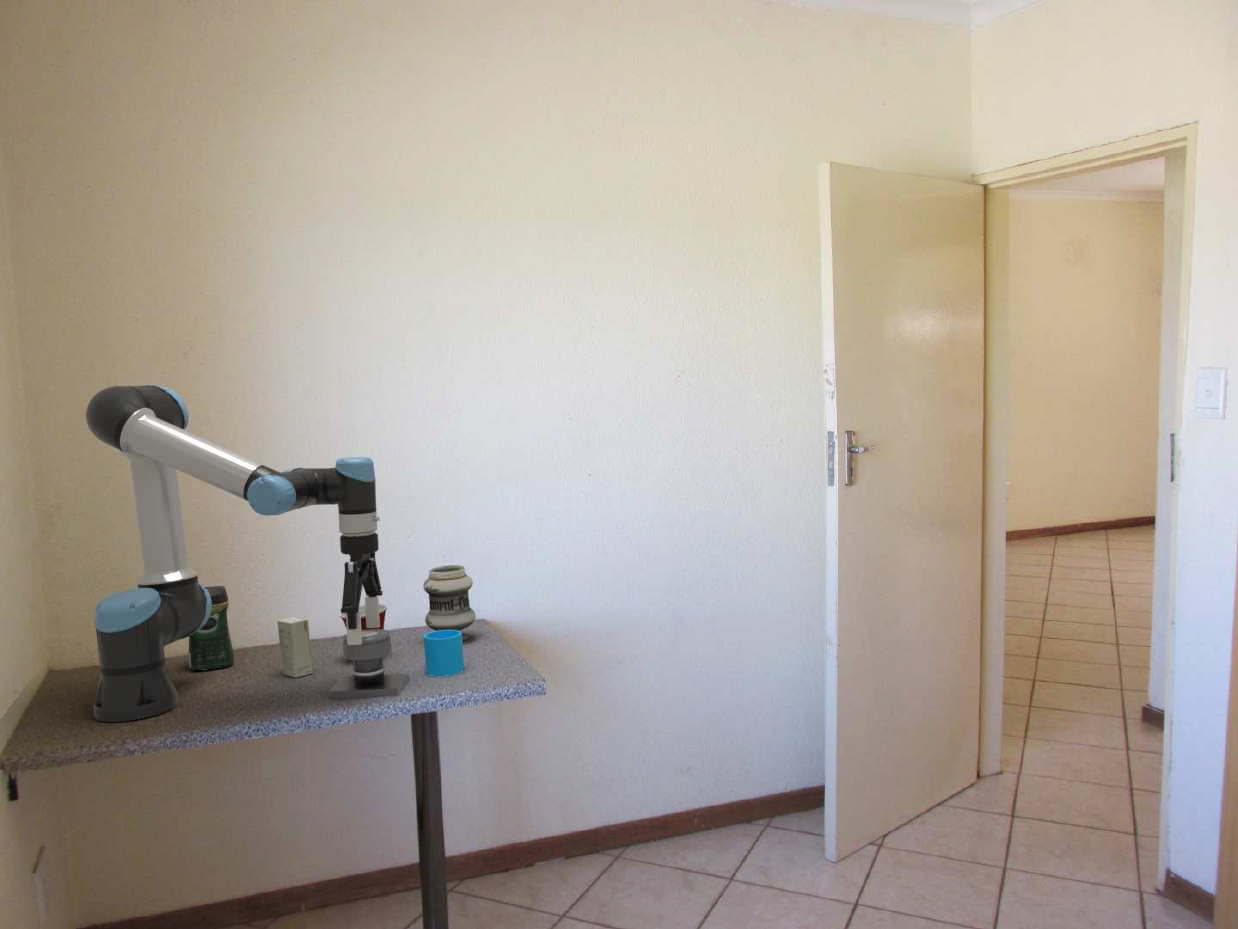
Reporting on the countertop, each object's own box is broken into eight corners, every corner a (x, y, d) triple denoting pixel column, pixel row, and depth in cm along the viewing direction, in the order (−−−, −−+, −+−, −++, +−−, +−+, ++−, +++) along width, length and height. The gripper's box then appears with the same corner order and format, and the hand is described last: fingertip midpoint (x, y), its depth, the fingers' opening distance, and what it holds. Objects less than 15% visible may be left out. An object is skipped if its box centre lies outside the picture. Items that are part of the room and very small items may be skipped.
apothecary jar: (418, 647, 233) (413, 573, 232) (438, 634, 245) (434, 563, 244) (465, 648, 231) (461, 572, 229) (484, 634, 242) (479, 563, 241)
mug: (464, 674, 209) (462, 637, 208) (426, 678, 207) (423, 641, 207) (462, 660, 220) (460, 624, 220) (426, 663, 219) (423, 627, 218)
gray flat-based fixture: (328, 698, 196) (324, 647, 195) (343, 683, 206) (339, 634, 205) (397, 695, 196) (394, 644, 195) (409, 680, 206) (406, 632, 205)
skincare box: (313, 674, 215) (309, 619, 214) (295, 678, 212) (291, 623, 211) (299, 669, 219) (294, 615, 218) (280, 674, 216) (276, 619, 215)
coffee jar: (235, 659, 230) (229, 582, 229) (233, 668, 223) (226, 588, 221) (190, 665, 227) (184, 586, 226) (187, 674, 220) (180, 592, 218)
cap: (384, 659, 196) (382, 638, 195) (338, 661, 196) (337, 640, 196) (395, 647, 205) (394, 627, 205) (352, 648, 205) (350, 629, 205)
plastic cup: (338, 658, 227) (334, 607, 226) (384, 651, 231) (381, 601, 231) (347, 669, 217) (344, 616, 216) (396, 661, 222) (392, 609, 221)
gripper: (359, 542, 186) (365, 651, 188) (392, 523, 211) (397, 620, 213) (320, 543, 186) (327, 652, 188) (357, 524, 211) (363, 621, 213)
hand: (364, 635), depth 200 cm, fingers open, 13 cm apart
